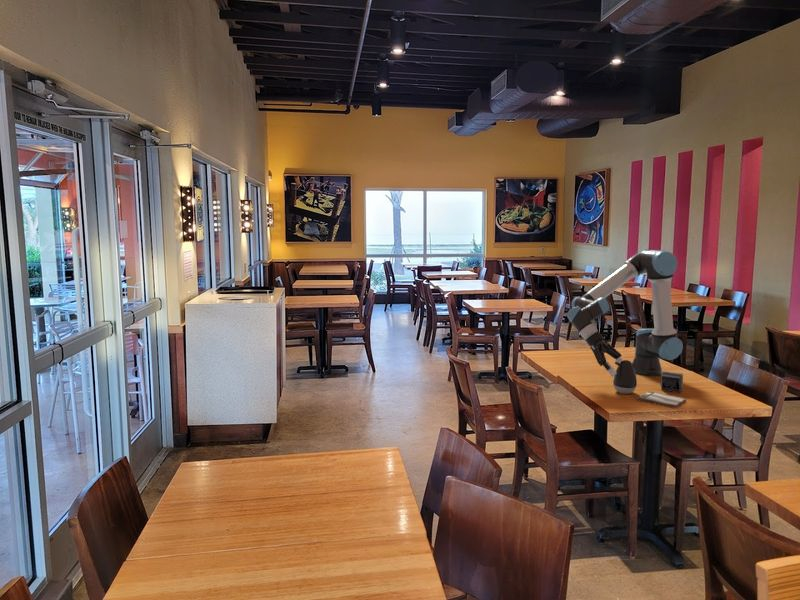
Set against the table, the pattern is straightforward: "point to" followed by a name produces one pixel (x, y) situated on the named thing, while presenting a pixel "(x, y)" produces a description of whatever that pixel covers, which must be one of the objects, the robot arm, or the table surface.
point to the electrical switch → (671, 381)
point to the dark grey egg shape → (625, 377)
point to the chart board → (661, 399)
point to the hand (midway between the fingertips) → (620, 372)
